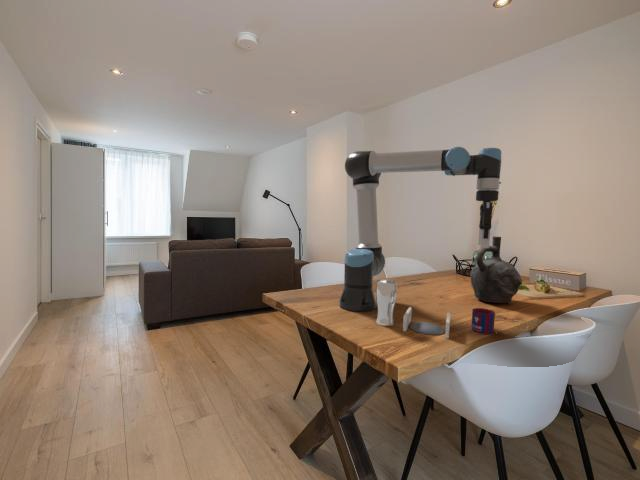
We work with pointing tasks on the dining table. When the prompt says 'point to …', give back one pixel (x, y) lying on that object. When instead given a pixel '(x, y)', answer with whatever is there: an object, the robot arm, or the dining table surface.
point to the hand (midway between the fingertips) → (483, 246)
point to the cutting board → (544, 291)
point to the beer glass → (385, 301)
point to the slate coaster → (427, 328)
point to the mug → (483, 320)
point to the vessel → (494, 276)
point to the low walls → (408, 319)
